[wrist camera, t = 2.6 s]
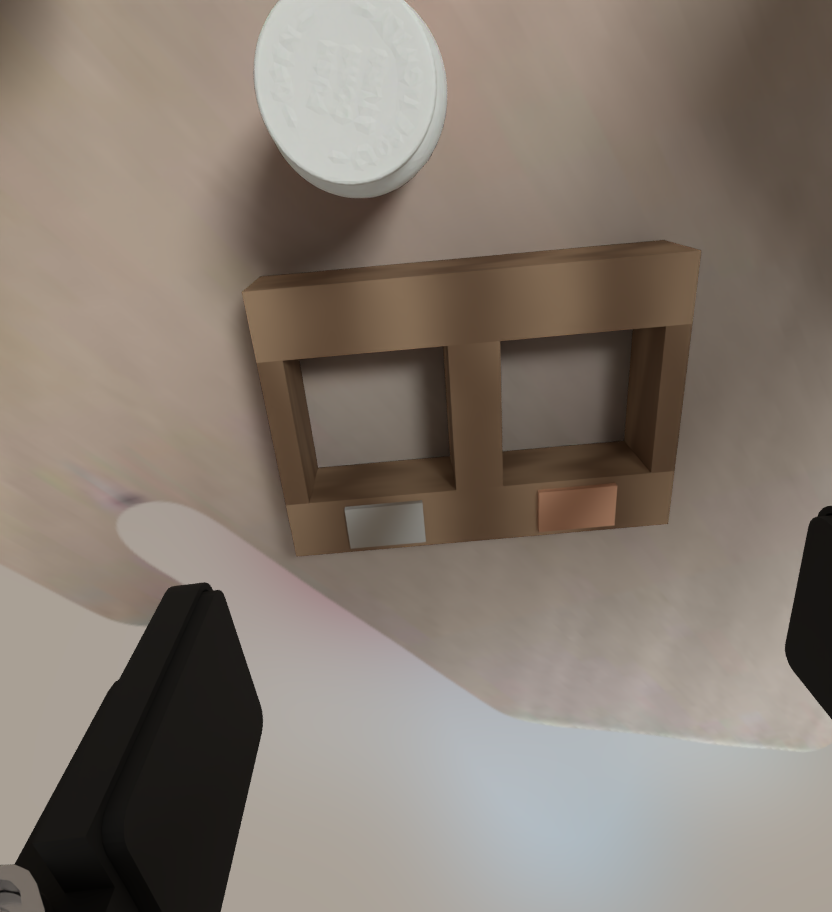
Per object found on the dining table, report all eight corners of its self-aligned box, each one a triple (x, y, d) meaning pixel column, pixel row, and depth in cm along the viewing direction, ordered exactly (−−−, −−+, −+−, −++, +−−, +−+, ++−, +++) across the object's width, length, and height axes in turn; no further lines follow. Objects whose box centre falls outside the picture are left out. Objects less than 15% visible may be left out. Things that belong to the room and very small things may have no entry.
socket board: (663, 239, 29) (704, 251, 26) (640, 487, 36) (670, 527, 32) (260, 276, 30) (240, 293, 26) (306, 517, 36) (295, 559, 32)
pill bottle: (461, 98, 27) (504, 56, 16) (382, 218, 29) (376, 247, 18) (345, -4, 25) (311, -122, 15) (269, 132, 27) (194, 111, 17)
